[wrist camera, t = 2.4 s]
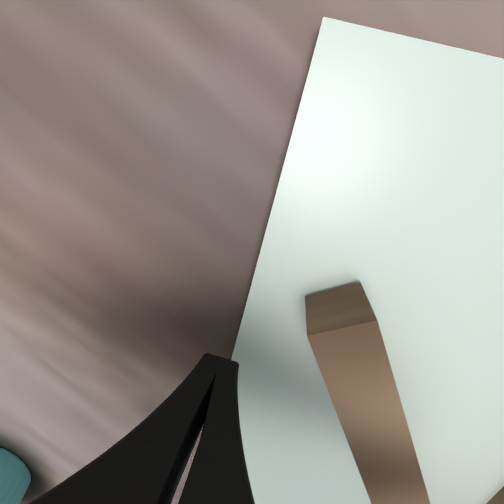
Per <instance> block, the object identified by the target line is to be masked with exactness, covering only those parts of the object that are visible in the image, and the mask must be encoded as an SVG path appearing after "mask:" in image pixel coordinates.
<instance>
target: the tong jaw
mask: <svg viewBox="0 0 504 504" xmlns="http://www.w3.org/2000/svg"><path fill="white" fill-rule="evenodd" d="M305 308H306V329H307V338H308V340H309V343H310V345H311V348H312V351H313V353H314V356H315V358H316V361H317V364H318V366H319V369H320V371H321V374H322V377H323V379H324V382H325V384H326V387H327V390H328V392H329V395H330V397H331V400H332V403H333V405H334V408H335V410H336V413H337V416H338V418H339V421H340V423H341V426H342V429H343V431H344V434H345V436H346V439H347V442H348V444H349V447H350V449H351V452H352V454H353V457H354V460H355V462H356V465H357V467H358V470H359V473H360V475H361V478H362V480H363V483H364V486H365V488H366V491H367V493H368V496H369V499H370V501H371V504H430V500H429V497H428V493H427V490H426V487H425V483H424V480H423V476H422V473H421V469H420V466H419V462H418V459H417V455H416V452H415V448H414V445H413V442H412V438H411V435H410V431H409V428H408V424H407V421H406V417H405V414H404V410H403V407H402V403H401V400H400V397H399V393H398V390H397V386H396V383H395V379H394V376H393V372H392V369H391V365H390V362H389V358H388V355H387V352H386V348H385V345H384V341H383V338H382V334H381V331H380V327H379V324H378V320H377V318H376V316H375V314H374V311H373V309H372V307H371V305H370V302H369V300H368V298H367V296H366V294H365V291H364V289H363V287H362V285H361V282H358V283H354V284H350V285H347V286H343V287H339V288H335V289H331V290H327V291H323V292H320V293H316V294H312V295H308V296H305Z"/></svg>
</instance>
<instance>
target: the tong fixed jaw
mask: <svg viewBox="0 0 504 504" xmlns="http://www.w3.org/2000/svg"><path fill="white" fill-rule="evenodd" d="M486 504H504V487H503V488H502V489H501V490H500V491H498V492H497V493H496V494H495V495H494V496H493V497H492V498H491V499H490V500H489V501H488V502H487V503H486Z"/></svg>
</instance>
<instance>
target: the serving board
mask: <svg viewBox="0 0 504 504" xmlns="http://www.w3.org/2000/svg"><path fill="white" fill-rule="evenodd" d="M358 282H361V285H362V287H363V289H364V291H365V294H366V296H367V298H368V300H369V302H370V305H371V307H372V309H373V311H374V314H375V316H376V318H377V320H378V324H379V327H380V331H381V334H382V338H383V341H384V345H385V348H386V352H387V355H388V358H389V362H390V365H391V369H392V372H393V376H394V379H395V383H396V386H397V390H398V393H399V397H400V400H401V403H402V407H403V410H404V414H405V417H406V421H407V424H408V428H409V431H410V435H411V438H412V442H413V445H414V448H415V452H416V455H417V459H418V462H419V466H420V469H421V473H422V476H423V480H424V483H425V487H426V490H427V493H428V497H429V500H430V504H486V503H487V502H488V501H489V500H490V499H491V498H492V497H493V496H494V495H495V494H496V493H497V492H498V491H500V490H501V489H502V488H503V487H504V59H502V58H498V57H493V56H489V55H485V54H481V53H476V52H472V51H468V50H463V49H459V48H455V47H451V46H446V45H442V44H438V43H433V42H429V41H425V40H421V39H416V38H412V37H408V36H404V35H399V34H395V33H391V32H386V31H382V30H378V29H374V28H369V27H365V26H361V25H356V24H352V23H348V22H344V21H339V20H335V19H331V18H327V17H323V20H322V24H321V28H320V32H319V35H318V39H317V43H316V46H315V50H314V54H313V58H312V61H311V65H310V69H309V72H308V76H307V80H306V84H305V87H304V91H303V95H302V98H301V102H300V106H299V110H298V113H297V117H296V121H295V124H294V128H293V132H292V136H291V139H290V143H289V147H288V150H287V154H286V158H285V162H284V165H283V169H282V173H281V176H280V180H279V184H278V187H277V191H276V195H275V199H274V202H273V206H272V210H271V213H270V217H269V221H268V225H267V228H266V232H265V236H264V239H263V243H262V247H261V251H260V254H259V258H258V262H257V265H256V269H255V273H254V277H253V280H252V284H251V288H250V291H249V295H248V299H247V303H246V306H245V310H244V314H243V317H242V321H241V325H240V329H239V332H238V336H237V340H236V343H235V347H234V351H233V355H232V358H231V360H232V361H236V362H238V364H239V370H238V408H239V420H240V429H241V436H242V443H243V450H244V456H245V461H246V466H247V471H248V476H249V481H250V485H251V490H252V494H253V498H254V502H255V504H371V501H370V499H369V496H368V493H367V491H366V488H365V486H364V483H363V480H362V478H361V475H360V473H359V470H358V467H357V465H356V462H355V460H354V457H353V454H352V452H351V449H350V447H349V444H348V442H347V439H346V436H345V434H344V431H343V429H342V426H341V423H340V421H339V418H338V416H337V413H336V410H335V408H334V405H333V403H332V400H331V397H330V395H329V392H328V390H327V387H326V384H325V382H324V379H323V377H322V374H321V371H320V369H319V366H318V364H317V361H316V358H315V356H314V353H313V351H312V348H311V345H310V343H309V340H308V338H307V329H306V308H305V296H308V295H312V294H316V293H320V292H323V291H327V290H331V289H335V288H339V287H343V286H347V285H350V284H354V283H358Z"/></svg>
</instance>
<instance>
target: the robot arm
mask: <svg viewBox="0 0 504 504" xmlns="http://www.w3.org/2000/svg"><path fill="white" fill-rule="evenodd" d="M238 370H239V364H238V362H236V361H232V360H229V359H226V358H222V357H219V356H216V355H212V354H209V353H206V354H204V355H203V357H202V358H201V360H200V361H199V362H198V364H197V365H196V366H195V368H194V369H193V370H192V371H191V373H190V374H189V375H188V376H187V377H186V379H185V380H184V381H183V382H182V383H181V384H180V385H179V386H178V387H177V388H176V389H175V391H174V392H173V393H172V394H171V395H170V396H169V397H168V398H167V399H166V400H165V401H164V402H163V403H162V404H161V405H160V406H159V407H158V408H157V409H156V410H154V411H153V412H152V413H151V414H150V415H149V416H148V417H147V418H146V419H145V420H144V421H142V422H141V423H140V424H139V425H138V426H137V427H136V428H134V429H133V430H132V431H131V432H130V433H128V434H127V435H126V436H125V437H124V438H122V439H121V440H120V441H118V442H117V443H116V444H115V445H113V446H112V447H111V448H110V449H108V450H107V451H106V452H104V453H103V454H102V455H100V456H99V457H98V458H96V459H95V460H94V461H92V462H91V463H89V464H88V465H86V466H85V467H83V468H82V469H81V470H79V471H78V472H76V473H75V474H73V475H72V476H70V477H69V478H67V479H66V480H65V481H63V482H62V483H60V484H59V485H57V486H56V487H54V488H53V489H51V490H49V491H48V492H46V493H45V494H43V495H41V496H40V497H38V498H36V499H35V500H33V501H32V502H30V503H28V504H171V502H172V499H173V496H174V494H175V491H176V488H177V486H178V484H179V481H180V479H181V476H182V474H183V472H184V469H185V467H186V464H187V462H188V460H189V457H190V455H191V452H192V450H193V448H194V445H195V443H196V440H197V438H198V436H199V433H200V431H201V428H202V426H203V429H202V433H201V438H200V442H199V445H198V448H197V451H196V453H195V456H194V459H193V462H192V465H191V468H190V471H189V474H188V477H187V480H186V483H185V486H184V489H183V492H182V494H181V497H180V500H179V503H178V504H255V502H254V498H253V494H252V490H251V485H250V481H249V476H248V471H247V466H246V461H245V456H244V450H243V443H242V436H241V429H240V420H239V408H238ZM203 424H204V425H203Z"/></svg>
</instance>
